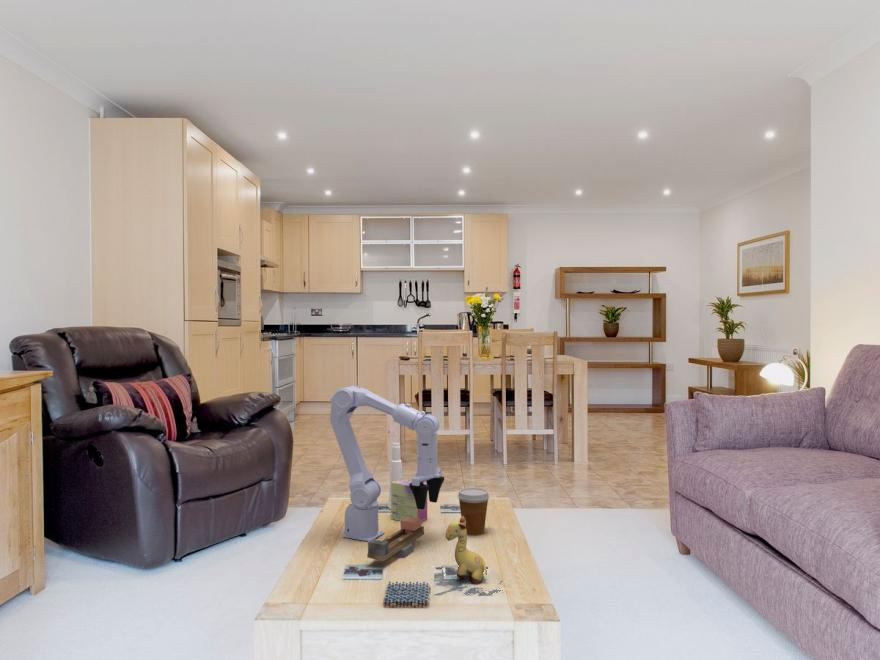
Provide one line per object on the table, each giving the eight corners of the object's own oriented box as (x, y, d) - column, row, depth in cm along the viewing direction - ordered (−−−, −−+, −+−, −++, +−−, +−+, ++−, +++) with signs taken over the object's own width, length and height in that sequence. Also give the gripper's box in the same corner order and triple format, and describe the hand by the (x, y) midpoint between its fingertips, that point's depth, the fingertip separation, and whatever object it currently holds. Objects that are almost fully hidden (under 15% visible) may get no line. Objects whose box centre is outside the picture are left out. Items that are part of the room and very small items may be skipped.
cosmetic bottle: (408, 506, 206) (407, 442, 206) (401, 511, 200) (401, 445, 200) (391, 504, 208) (391, 441, 208) (384, 509, 202) (384, 444, 202)
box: (428, 520, 191) (427, 482, 191) (417, 525, 186) (417, 486, 186) (401, 514, 197) (401, 478, 197) (390, 519, 192) (390, 482, 192)
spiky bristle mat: (381, 610, 130) (381, 601, 130) (386, 589, 141) (386, 580, 141) (429, 610, 130) (429, 601, 130) (430, 589, 141) (430, 581, 141)
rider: (400, 533, 169) (400, 520, 169) (407, 529, 172) (407, 516, 172) (414, 535, 167) (414, 522, 167) (421, 531, 170) (421, 518, 170)
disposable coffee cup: (453, 534, 177) (452, 494, 177) (464, 525, 186) (463, 486, 186) (483, 539, 173) (483, 497, 173) (493, 528, 182) (493, 489, 182)
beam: (364, 564, 154) (364, 541, 155) (406, 538, 174) (406, 517, 174) (387, 569, 151) (387, 545, 151) (427, 541, 171) (427, 520, 171)
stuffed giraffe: (434, 568, 153) (436, 505, 152) (505, 570, 152) (507, 508, 152) (433, 598, 137) (435, 529, 136) (512, 601, 136) (514, 532, 136)
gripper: (427, 464, 164) (427, 514, 164) (451, 454, 177) (450, 500, 177) (405, 461, 167) (405, 510, 167) (429, 452, 180) (429, 497, 180)
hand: (427, 505), depth 172 cm, fingers open, 7 cm apart
